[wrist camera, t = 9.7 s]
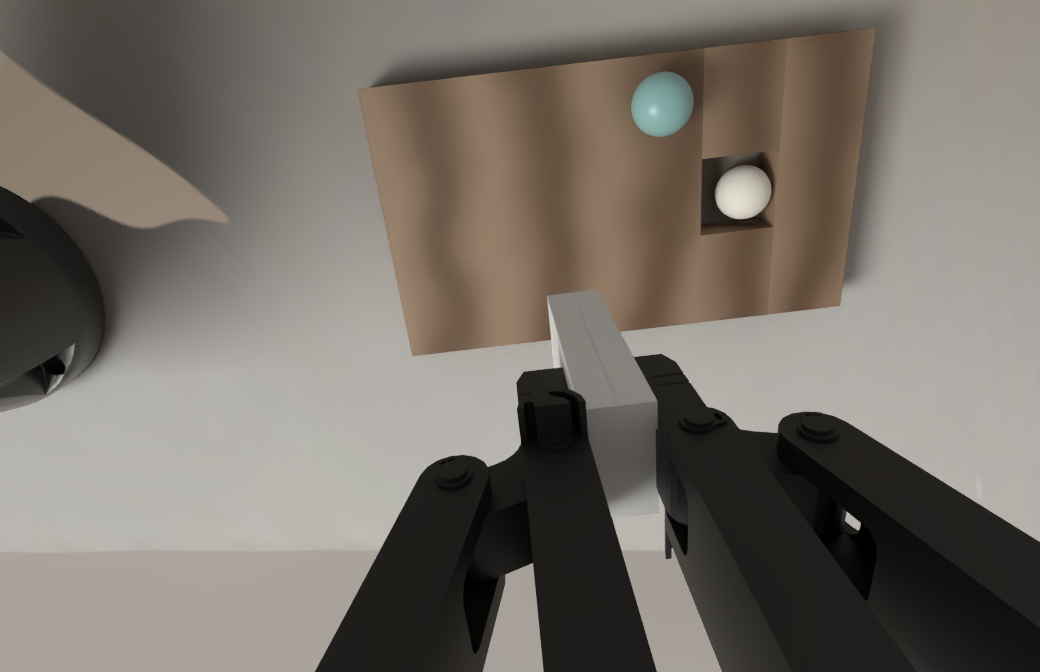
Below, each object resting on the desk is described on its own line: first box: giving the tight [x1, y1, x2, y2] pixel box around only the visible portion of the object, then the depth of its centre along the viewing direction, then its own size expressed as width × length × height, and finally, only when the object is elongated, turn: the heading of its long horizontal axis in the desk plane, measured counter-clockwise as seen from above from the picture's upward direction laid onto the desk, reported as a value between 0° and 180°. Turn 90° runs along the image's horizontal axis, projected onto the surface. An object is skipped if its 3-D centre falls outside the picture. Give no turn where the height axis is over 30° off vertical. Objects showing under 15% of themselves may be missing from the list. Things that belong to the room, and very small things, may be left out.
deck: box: [357, 28, 876, 356], centre depth 35 cm, size 28×16×2 cm, turn 96°
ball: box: [715, 165, 771, 219], centre depth 34 cm, size 3×3×3 cm
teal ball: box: [631, 71, 694, 137], centre depth 30 cm, size 3×3×3 cm
